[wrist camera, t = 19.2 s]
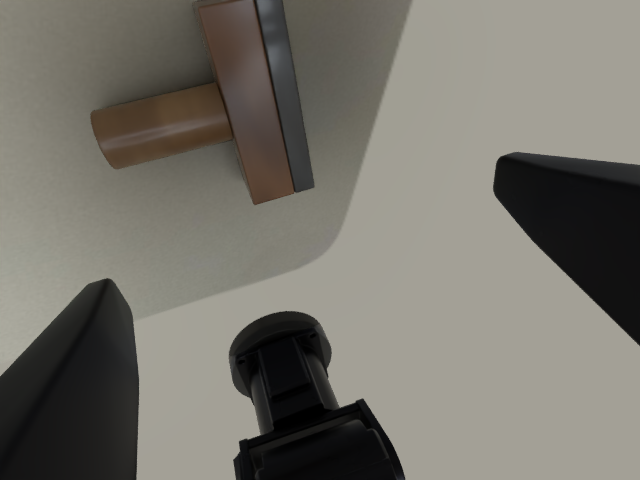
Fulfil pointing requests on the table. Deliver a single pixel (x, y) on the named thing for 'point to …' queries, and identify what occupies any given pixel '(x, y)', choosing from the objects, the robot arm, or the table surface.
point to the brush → (225, 104)
